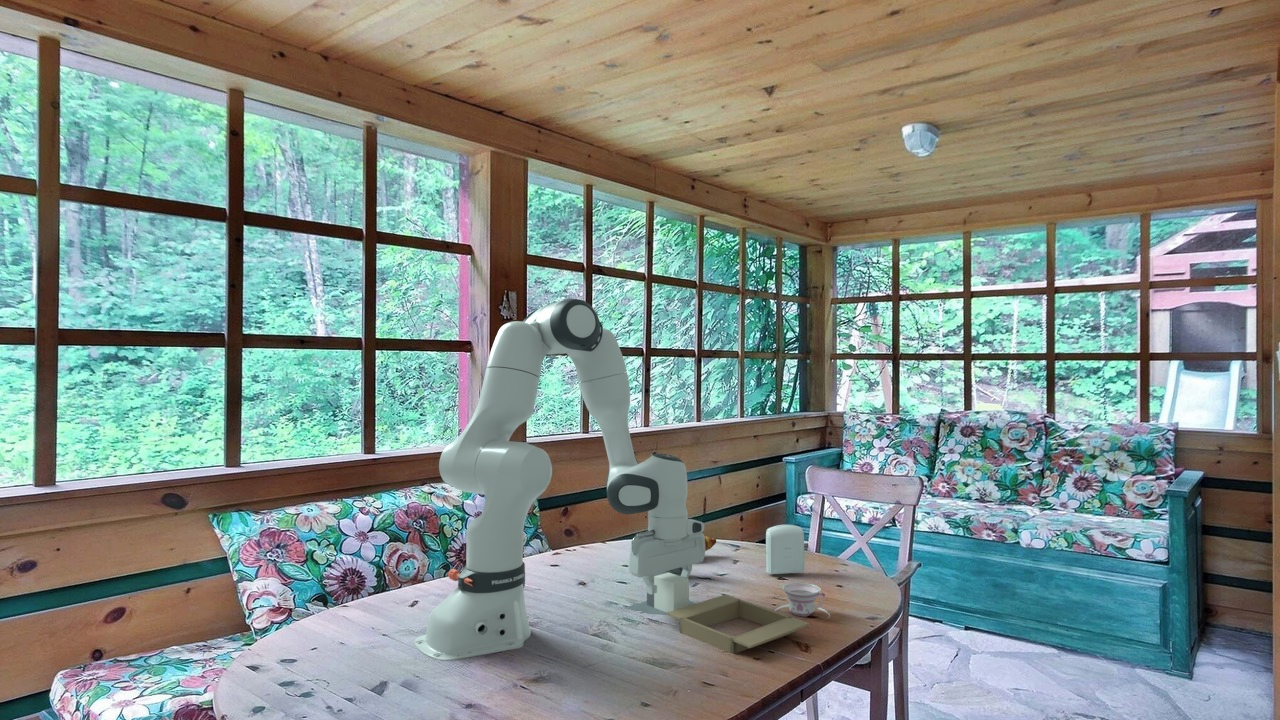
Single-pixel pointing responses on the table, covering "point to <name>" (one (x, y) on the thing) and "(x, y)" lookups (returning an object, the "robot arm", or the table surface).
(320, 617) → the table surface
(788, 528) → the photo printer
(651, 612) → the slate mat
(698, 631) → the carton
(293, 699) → the table surface
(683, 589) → the box
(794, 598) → the teacup
